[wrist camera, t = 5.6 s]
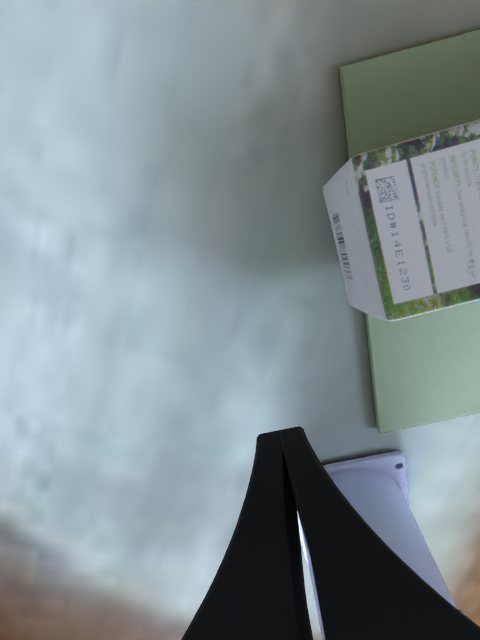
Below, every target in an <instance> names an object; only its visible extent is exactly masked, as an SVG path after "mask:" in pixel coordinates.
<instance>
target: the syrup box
mask: <svg viewBox="0 0 480 640" xmlns="http://www.w3.org/2000/svg"><path fill="white" fill-rule="evenodd" d="M322 192H323V196H324V199H325V203H326V206H327V210H328V215H329V219H330V223H331V227H332V231H333V236H334V240H335V244H336V248H337V253H338V257H339V261H340V265H341V269H342V273H343V278H344V282H345V286H346V297H347V301H348V304H349V305H351V306H352V307H355V308H357V309H359V310H361V311H362V312H365V313H367V314H369V315H371V316H374V317H377V318H380V319H383V320H386V321H396V320H400V319H405V318H409V317H413V316H417V315H420V314H424V313H429V312H433V311H437V310H441V309H445V308H449V307H453V306H457V305H461V304H465V303H469V302H473V301H477V300H480V119H478V120H475V121H472V122H468V123H464V124H461V125H457V126H454V127H450V128H447V129H444V130H440V131H437V132H433V133H430V134H426V135H423V136H419V137H416V138H412V139H409V140H405V141H402V142H398V143H395V144H391V145H388V146H384V147H381V148H377V149H374V150H370V151H367V152H363V153H360V154H357V155H355V156H353V157H351V158H350V159H349V160H348V161H347V162H346V163H345V164H344V165H343V166H342V167H341V168H340V169H339V170H338V171H337V172H336V173H335V174H334V175H333V176H332V177H331V179H330V180H329V181H328V182H327V183H326V184H325V185H324V186H323V187H322Z"/></svg>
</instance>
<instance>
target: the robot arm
mask: <svg viewBox="0 0 480 640" xmlns="http://www.w3.org/2000/svg"><path fill="white" fill-rule="evenodd" d="M398 463H399V464H398ZM300 542H301V544H300ZM301 546H302V550H303V554H304V557H305V560H306V561H308V565H309V570H310V576H311V581H312V586H313V592H314V597H315V602H316V608H317V613H318V618H319V624H320V629H321V634H322V640H480V627H479V626H478V625H476V624H475V623H474V622H473V621H471V620H470V619H469V618H468V617H466V616H465V614H464V612H463V611H462V610H458V609H457V607H456V605H455V603H454V601H453V598H452V596H451V594H450V592H449V590H448V588H447V586H446V584H445V582H444V579H443V577H442V575H441V573H440V571H439V569H438V567H437V565H436V562H435V560H434V558H433V556H432V554H431V552H430V550H429V548H428V546H427V543H426V541H425V539H424V537H423V535H422V533H421V531H420V529H419V526H418V524H417V522H416V520H415V518H414V516H413V514H412V512H411V509H410V507H409V499H408V483H407V468H406V457H405V455H404V453H403V452H401V451H393V452H388V453H383V454H378V455H373V456H368V457H363V458H358V459H353V460H347V461H342V462H337V463H332V464H327V465H322V464H321V462H320V461H319V459H318V457H317V456H316V454H315V452H314V451H313V449H312V447H311V445H310V443H309V441H308V439H307V437H306V434H305V432H304V429H303V428H301V427H300V426H299V427H294V428H289V429H284V430H279V431H273V432H268V433H263V434H260V435H259V436H258V437H257V444H256V453H255V459H254V464H253V469H252V474H251V478H250V482H249V485H248V489H247V493H246V497H245V500H244V503H243V507H242V510H241V513H240V516H239V519H238V522H237V525H236V528H235V530H234V533H233V536H232V538H231V541H230V544H229V546H228V548H227V551H226V553H225V556H224V558H223V560H222V563H221V565H220V567H219V569H218V571H217V573H216V576H215V578H214V580H213V582H212V584H211V586H210V588H209V590H208V592H207V594H206V596H205V598H204V600H203V602H202V604H201V605H200V607H199V609H198V611H197V613H196V614H195V616H194V618H193V620H192V622H191V623H190V625H189V627H188V629H187V631H186V632H185V634H184V636H183V638H182V639H181V640H313V636H312V630H311V625H310V619H309V614H308V608H307V601H306V593H305V585H304V574H303V564H302V554H301Z"/></svg>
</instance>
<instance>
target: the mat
mask: <svg viewBox="0 0 480 640" xmlns="http://www.w3.org/2000/svg"><path fill="white" fill-rule="evenodd" d="M339 71H340V81H341V90H342V100H343V109H344V119H345V128H346V138H347V147H348V157H349V159H350V158H351V157H353V156H355V155H357V154H360V153H363V152H367V151H370V150H374V149H377V148H381V147H384V146H388V145H391V144H395V143H398V142H402V141H405V140H409V139H412V138H416V137H419V136H423V135H426V134H430V133H433V132H437V131H440V130H444V129H447V128H450V127H454V126H457V125H461V124H464V123H468V122H472V121H475V120H478V119H480V29H479V30H475V31H471V32H468V33H464V34H460V35H456V36H453V37H449V38H445V39H442V40H438V41H434V42H431V43H427V44H423V45H419V46H416V47H412V48H408V49H405V50H401V51H397V52H394V53H390V54H386V55H382V56H379V57H375V58H371V59H368V60H364V61H360V62H356V63H353V64H349V65H345V66H342V67H340V68H339ZM365 318H366V328H367V337H368V347H369V356H370V366H371V375H372V385H373V394H374V404H375V413H376V423H377V429H378V431H379V433H385V432H390V431H395V430H400V429H405V428H410V427H415V426H420V425H425V424H430V423H435V422H440V421H445V420H450V419H455V418H460V417H465V416H470V415H475V414H480V300H477V301H473V302H469V303H465V304H461V305H457V306H453V307H449V308H445V309H441V310H437V311H433V312H429V313H424V314H420V315H417V316H413V317H409V318H405V319H400V320H396V321H386V320H383V319H380V318H377V317H374V316H371V315H369V314H367V313H365Z"/></svg>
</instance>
